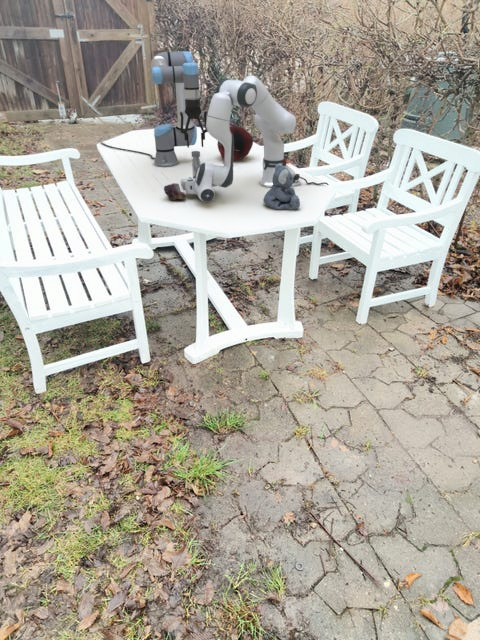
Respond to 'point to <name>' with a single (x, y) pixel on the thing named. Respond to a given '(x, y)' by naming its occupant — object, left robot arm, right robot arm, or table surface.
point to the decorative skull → (238, 143)
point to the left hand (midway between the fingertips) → (195, 146)
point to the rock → (174, 191)
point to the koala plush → (282, 190)
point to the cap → (195, 154)
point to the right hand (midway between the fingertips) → (197, 178)
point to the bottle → (195, 165)
